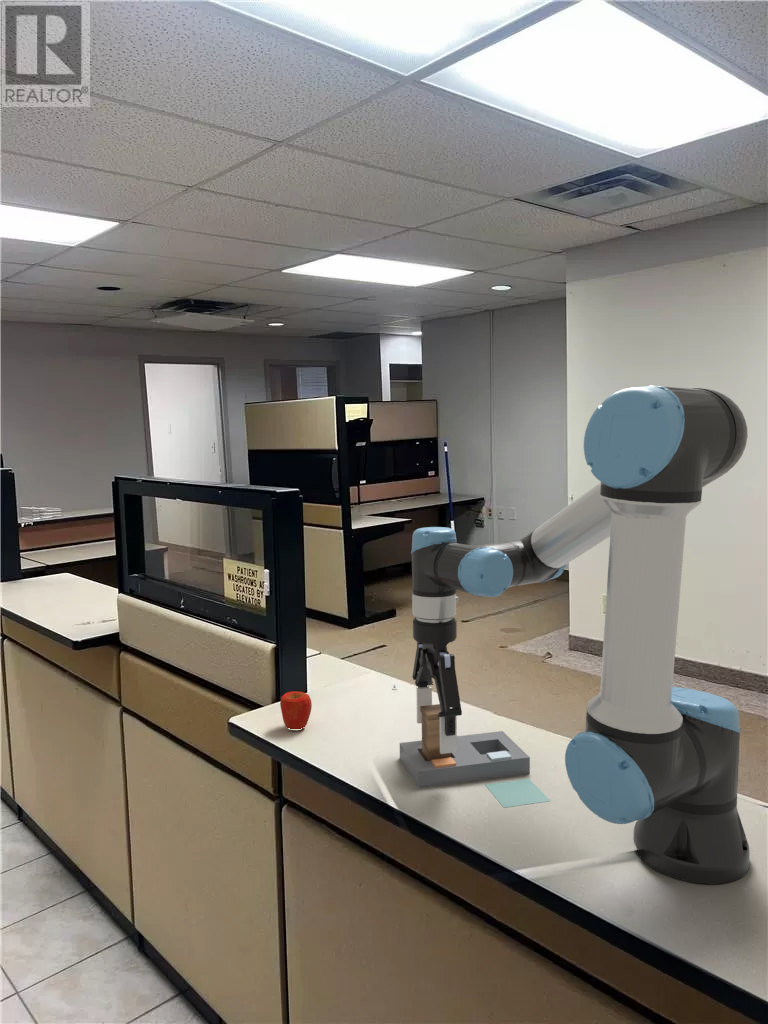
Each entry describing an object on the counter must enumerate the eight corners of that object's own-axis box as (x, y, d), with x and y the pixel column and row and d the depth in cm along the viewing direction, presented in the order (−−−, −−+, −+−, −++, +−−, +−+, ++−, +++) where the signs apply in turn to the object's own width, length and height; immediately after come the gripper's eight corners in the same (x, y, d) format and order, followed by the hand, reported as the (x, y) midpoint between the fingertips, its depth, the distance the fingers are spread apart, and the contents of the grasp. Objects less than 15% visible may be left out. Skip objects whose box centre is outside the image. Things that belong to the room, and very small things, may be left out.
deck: (550, 807, 118) (550, 800, 118) (503, 814, 117) (503, 807, 116) (529, 785, 126) (529, 778, 126) (485, 791, 124) (485, 784, 124)
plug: (452, 779, 129) (451, 712, 128) (428, 782, 128) (427, 715, 127) (444, 768, 133) (443, 703, 132) (420, 771, 132) (420, 706, 131)
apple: (315, 723, 155) (315, 689, 154) (305, 735, 149) (304, 699, 148) (287, 721, 157) (286, 687, 156) (276, 732, 151) (275, 697, 150)
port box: (529, 779, 128) (529, 755, 128) (418, 794, 124) (418, 769, 123) (502, 751, 140) (502, 728, 140) (399, 764, 135) (399, 740, 135)
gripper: (481, 633, 117) (482, 763, 119) (433, 600, 141) (434, 709, 143) (435, 637, 115) (437, 769, 117) (395, 603, 139) (396, 713, 141)
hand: (435, 736), depth 130 cm, fingers open, 13 cm apart
